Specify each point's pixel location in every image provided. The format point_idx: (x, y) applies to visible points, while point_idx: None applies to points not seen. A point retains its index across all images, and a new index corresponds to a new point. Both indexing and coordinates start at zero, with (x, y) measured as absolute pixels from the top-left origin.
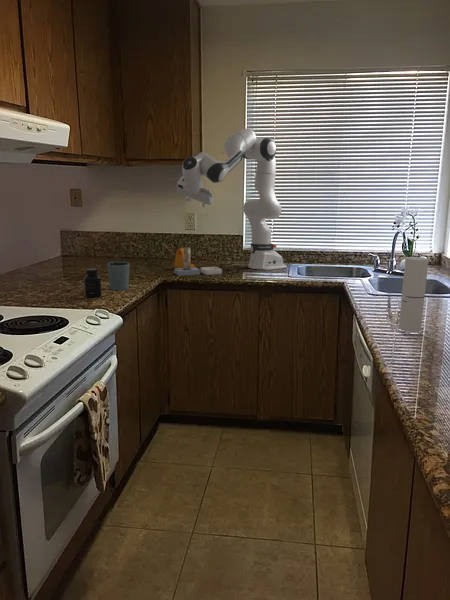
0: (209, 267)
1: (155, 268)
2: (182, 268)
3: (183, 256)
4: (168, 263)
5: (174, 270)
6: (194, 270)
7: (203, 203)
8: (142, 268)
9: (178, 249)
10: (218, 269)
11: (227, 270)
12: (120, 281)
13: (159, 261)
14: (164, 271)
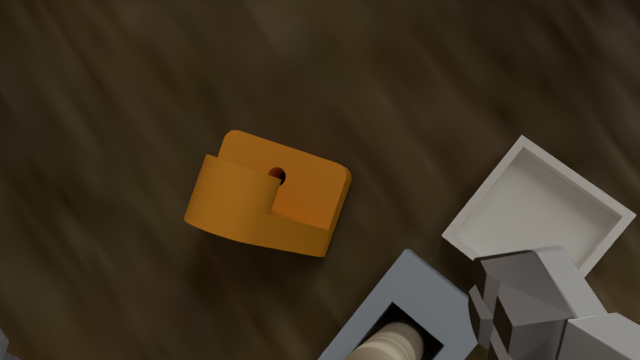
0: (491, 186)
1: (120, 286)
2: (350, 337)
3: (273, 243)
4: (88, 91)
5: None
6: (467, 355)
7: (521, 354)
8: (58, 330)
9: (195, 225)
10: (613, 232)
11: (571, 64)
12: None
13: (8, 68)
14: (225, 346)
